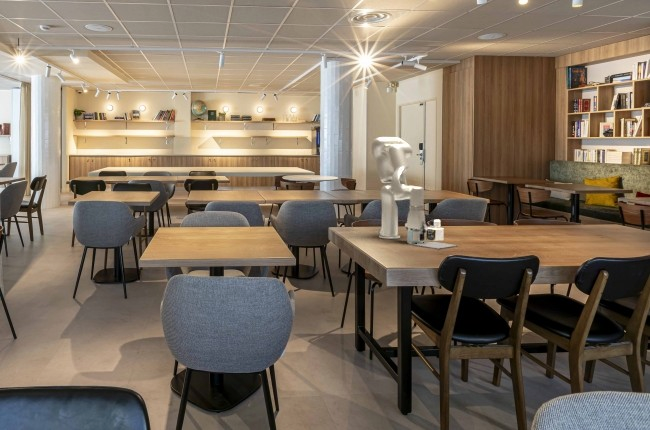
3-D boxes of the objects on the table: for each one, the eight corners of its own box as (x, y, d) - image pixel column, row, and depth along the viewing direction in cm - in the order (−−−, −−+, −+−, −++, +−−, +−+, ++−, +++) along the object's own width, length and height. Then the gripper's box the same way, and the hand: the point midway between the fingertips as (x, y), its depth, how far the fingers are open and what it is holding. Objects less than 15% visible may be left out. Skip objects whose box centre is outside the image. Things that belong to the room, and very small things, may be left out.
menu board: (407, 243, 353) (407, 230, 352) (420, 241, 360) (420, 228, 359) (411, 244, 351) (411, 231, 350) (424, 242, 358) (425, 229, 357)
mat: (412, 245, 347) (412, 244, 347) (432, 242, 357) (432, 241, 357) (438, 249, 333) (438, 248, 333) (457, 246, 343) (457, 245, 343)
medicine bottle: (426, 240, 366) (426, 219, 365) (434, 239, 370) (435, 218, 369) (435, 241, 361) (435, 220, 359) (443, 240, 365) (444, 219, 363)
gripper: (400, 208, 358) (400, 238, 360) (423, 210, 344) (423, 242, 346) (409, 207, 362) (409, 237, 364) (433, 209, 349) (432, 240, 351)
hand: (416, 239), depth 355 cm, fingers open, 8 cm apart
